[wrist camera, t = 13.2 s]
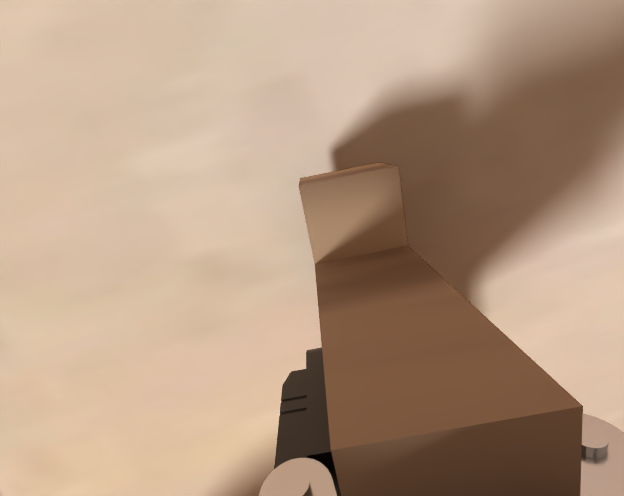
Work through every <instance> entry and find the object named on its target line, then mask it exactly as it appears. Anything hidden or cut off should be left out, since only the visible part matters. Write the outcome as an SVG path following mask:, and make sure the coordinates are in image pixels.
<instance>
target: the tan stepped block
mask: <svg viewBox="0 0 624 496" xmlns="http://www.w3.org/2000/svg"><path fill="white" fill-rule="evenodd" d="M299 190H300V195H301V199H302V204H303V209H304V214H305V219H306V224H307V228H308V233H309V238H310V243H311V248H312V253H313V257H314V262H315V271H316V283H317V295H318V306H319V318H320V330H321V342H322V353H323V365H324V377H325V388H326V400H327V412H328V423H329V435H330V447H331V453H332V458H333V462H334V466H335V471H336V475H337V479H338V484H339V488H340V492H341V496H580V490H581V454H582V419H583V406H582V405H581V404H580V403H579V402H578V401H577V400H576V399H574V398H573V397H572V396H571V395H570V394H569V393H568V392H567V391H566V390H565V389H564V388H563V387H561V386H560V385H559V384H558V383H557V382H556V381H555V380H554V379H553V378H552V377H551V376H549V375H548V374H547V373H546V372H545V371H544V370H543V369H542V368H541V367H540V366H539V365H537V364H536V363H535V362H534V361H533V360H532V359H531V358H530V357H529V356H528V355H527V354H525V353H524V352H523V351H522V350H521V349H520V348H519V347H518V346H517V345H516V344H515V343H514V342H512V341H511V340H510V339H509V338H508V337H507V336H506V335H505V334H504V333H503V332H502V331H500V330H499V329H498V328H497V327H496V326H495V325H494V324H493V323H492V322H491V321H490V320H488V319H487V318H486V317H485V316H484V315H483V314H482V313H481V312H480V311H479V310H478V309H476V308H475V307H474V306H473V305H472V304H471V303H470V302H469V301H468V300H467V299H466V298H464V297H463V296H462V295H461V294H460V293H459V292H458V291H457V290H456V289H455V288H454V287H453V286H451V285H450V284H449V283H448V282H447V281H446V280H445V279H444V278H443V277H442V276H441V275H439V274H438V273H437V272H436V271H435V270H434V269H433V268H432V267H431V266H430V265H429V264H427V263H426V262H425V261H424V260H423V259H422V258H421V257H420V256H419V255H418V254H417V253H415V252H414V251H413V250H412V249H411V248H410V247H409V246H408V240H407V232H406V224H405V216H404V208H403V200H402V192H401V184H400V176H399V168H398V166H396V165H390V164H383V163H373V164H368V165H363V166H358V167H353V168H348V169H344V170H339V171H334V172H329V173H324V174H319V175H314V176H309V177H304V178H300V182H299Z"/></svg>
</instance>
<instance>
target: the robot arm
mask: <svg viewBox="0 0 624 496" xmlns="http://www.w3.org/2000/svg"><path fill="white" fill-rule="evenodd" d="M281 402H282V403H281V407H280V417H279V427H278V437H277V447H276V457H275V467H274V470H273V471H272V472H271V473H270V474H269V475H268V477H267V478H266V479H265V481H264V483H263V484H262V487H261V489H260V492H259V496H341V492H340V488H339V484H338V479H337V475H336V471H335V466H334V462H333V458H332V453H331V447H330V435H329V423H328V412H327V400H326V388H325V377H324V365H323V353H322V348H317V349H311V350H307V352H306V369H303V370H298V371H292V372H291V373H290V374H289V376H288V378H287V379H286V381H285V382H284V384H283V387H282V397H281ZM580 496H624V432H622V431H621V430H620V429H618V428H617V427H615V426H613V425H612V424H610V423H608V422H606V421H604V420H601V419H599V418H596V417H593V416H590V415H586V414H583V419H582V454H581V490H580Z"/></svg>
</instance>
